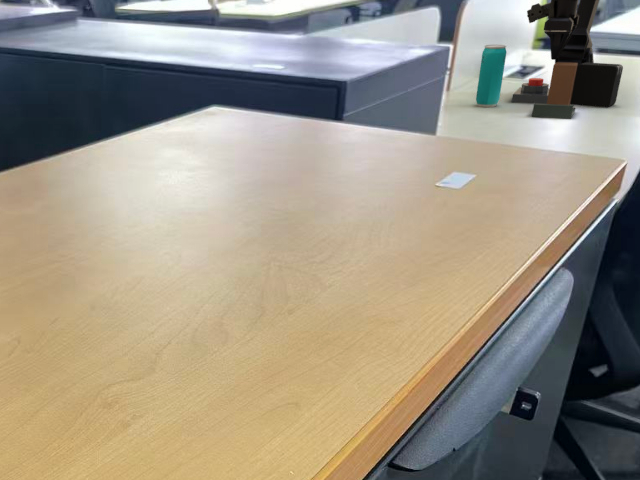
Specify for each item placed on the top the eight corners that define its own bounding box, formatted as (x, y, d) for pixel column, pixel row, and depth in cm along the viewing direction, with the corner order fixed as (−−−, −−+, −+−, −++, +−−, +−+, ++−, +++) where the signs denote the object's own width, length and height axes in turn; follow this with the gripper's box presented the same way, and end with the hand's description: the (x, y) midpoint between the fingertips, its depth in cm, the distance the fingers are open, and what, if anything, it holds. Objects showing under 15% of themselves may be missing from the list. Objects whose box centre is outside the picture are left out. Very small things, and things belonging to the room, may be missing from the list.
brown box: (548, 107, 223) (556, 62, 218) (569, 108, 220) (577, 62, 215) (545, 110, 219) (553, 64, 214) (567, 111, 217) (575, 65, 211)
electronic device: (574, 102, 227) (582, 62, 223) (615, 105, 221) (623, 64, 216) (568, 104, 225) (576, 64, 220) (608, 108, 218) (617, 66, 214)
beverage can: (497, 104, 229) (507, 44, 222) (498, 108, 224) (507, 46, 217) (474, 104, 230) (483, 44, 224) (475, 107, 226) (483, 47, 219)
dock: (536, 110, 219) (538, 98, 217) (574, 112, 215) (577, 100, 213) (531, 116, 212) (533, 104, 211) (570, 118, 208) (573, 106, 207)
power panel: (518, 95, 239) (520, 80, 238) (553, 97, 235) (556, 81, 233) (511, 102, 230) (513, 87, 228) (547, 104, 226) (550, 88, 224)
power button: (528, 84, 233) (530, 77, 232) (543, 85, 232) (544, 78, 231) (526, 86, 231) (528, 79, 230) (541, 87, 229) (542, 80, 228)
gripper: (537, -11, 226) (527, 52, 233) (527, -6, 212) (516, 61, 219) (584, -12, 221) (572, 53, 228) (577, -7, 206) (564, 62, 214)
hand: (555, 57), depth 222 cm, fingers open, 9 cm apart
